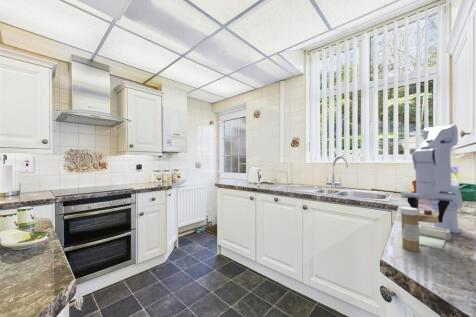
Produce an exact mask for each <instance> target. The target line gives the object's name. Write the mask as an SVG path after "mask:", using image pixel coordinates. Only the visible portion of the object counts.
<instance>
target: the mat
mask: <svg viewBox="0 0 476 317" xmlns="http://www.w3.org/2000/svg"><path fill="white" fill-rule="evenodd" d="M446 242H447V241H446V240H442V239H437V238H432V237H427V236H422V235H419V246H424V247H427V248H433V249H436V250H441V251H442V250H443V248H444V247H445V246H444V245H445V244H446Z"/></svg>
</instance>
